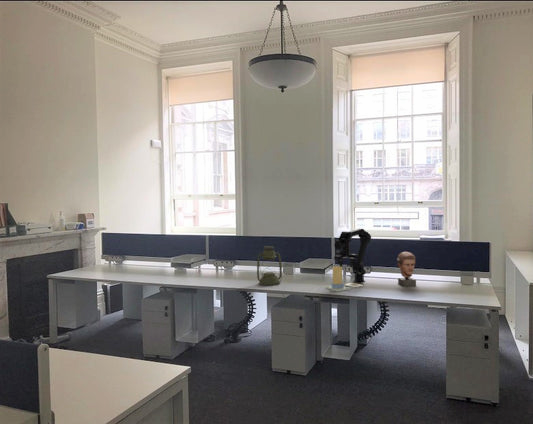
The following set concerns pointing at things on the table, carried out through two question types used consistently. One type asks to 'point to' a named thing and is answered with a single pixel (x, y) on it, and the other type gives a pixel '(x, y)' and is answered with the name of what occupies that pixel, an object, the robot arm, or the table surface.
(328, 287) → the baseplate
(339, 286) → the base brick
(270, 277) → the lantern
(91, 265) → the table surface
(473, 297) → the table surface
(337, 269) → the pillar brick
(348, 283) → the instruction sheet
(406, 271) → the bust
